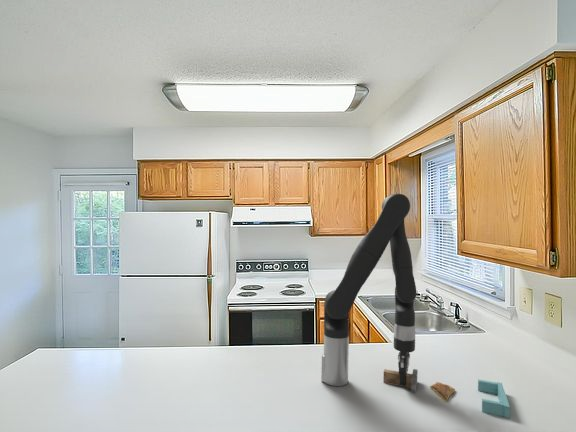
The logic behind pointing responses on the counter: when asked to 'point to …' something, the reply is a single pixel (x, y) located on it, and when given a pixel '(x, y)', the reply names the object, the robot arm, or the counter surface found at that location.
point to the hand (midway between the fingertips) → (403, 383)
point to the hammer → (394, 378)
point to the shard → (442, 390)
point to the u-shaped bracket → (493, 406)
